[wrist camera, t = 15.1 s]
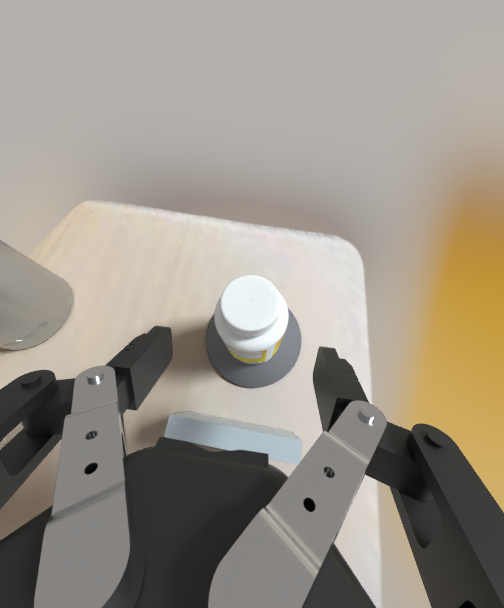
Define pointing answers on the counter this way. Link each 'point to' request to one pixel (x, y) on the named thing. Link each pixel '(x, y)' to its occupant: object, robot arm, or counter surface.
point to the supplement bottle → (251, 319)
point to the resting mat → (261, 372)
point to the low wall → (234, 435)
